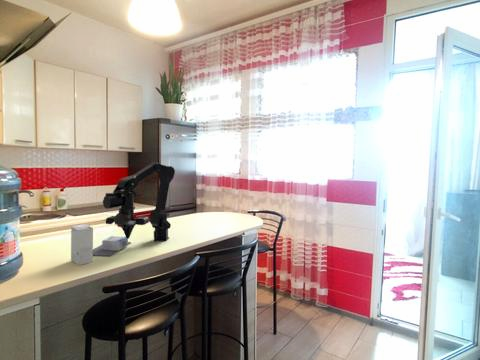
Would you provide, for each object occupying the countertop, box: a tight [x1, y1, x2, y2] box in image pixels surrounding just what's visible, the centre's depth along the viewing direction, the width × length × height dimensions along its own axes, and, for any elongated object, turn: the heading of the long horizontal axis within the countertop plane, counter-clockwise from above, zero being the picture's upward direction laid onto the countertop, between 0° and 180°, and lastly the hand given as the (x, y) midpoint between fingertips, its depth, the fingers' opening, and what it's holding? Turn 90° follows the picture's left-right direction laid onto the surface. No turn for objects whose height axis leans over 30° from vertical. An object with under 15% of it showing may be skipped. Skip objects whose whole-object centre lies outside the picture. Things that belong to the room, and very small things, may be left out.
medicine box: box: [101, 235, 129, 251], centre depth 135 cm, size 8×4×9 cm
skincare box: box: [70, 224, 94, 266], centre depth 118 cm, size 8×6×15 cm
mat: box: [93, 241, 132, 257], centre depth 135 cm, size 12×20×1 cm, turn 175°
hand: (127, 238), depth 134 cm, fingers closed
